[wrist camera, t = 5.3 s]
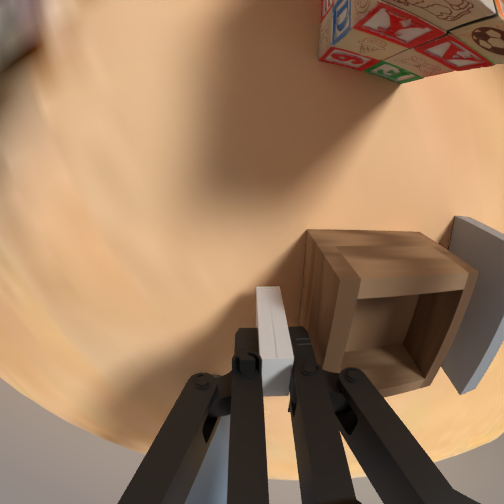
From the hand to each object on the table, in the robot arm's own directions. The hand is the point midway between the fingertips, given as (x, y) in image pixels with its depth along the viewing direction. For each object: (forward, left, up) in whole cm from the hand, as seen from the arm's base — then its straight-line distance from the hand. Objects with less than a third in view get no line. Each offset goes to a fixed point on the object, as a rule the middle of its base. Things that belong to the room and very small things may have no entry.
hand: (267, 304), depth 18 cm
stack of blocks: (+7, +26, -2) cm, 27 cm away
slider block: (+7, 0, -2) cm, 7 cm away
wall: (+16, 0, -2) cm, 16 cm away
